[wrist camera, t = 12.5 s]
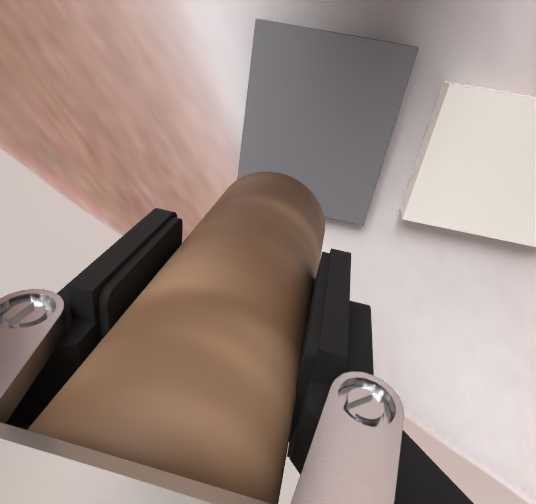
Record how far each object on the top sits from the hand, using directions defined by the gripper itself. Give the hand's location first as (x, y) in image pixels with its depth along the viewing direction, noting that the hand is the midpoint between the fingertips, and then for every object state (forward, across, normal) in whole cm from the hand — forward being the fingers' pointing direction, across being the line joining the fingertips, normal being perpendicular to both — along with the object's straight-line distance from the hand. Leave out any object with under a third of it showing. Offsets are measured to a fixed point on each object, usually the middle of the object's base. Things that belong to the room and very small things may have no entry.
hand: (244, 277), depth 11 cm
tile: (+19, -18, 0) cm, 26 cm away
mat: (+20, 0, 0) cm, 20 cm away
